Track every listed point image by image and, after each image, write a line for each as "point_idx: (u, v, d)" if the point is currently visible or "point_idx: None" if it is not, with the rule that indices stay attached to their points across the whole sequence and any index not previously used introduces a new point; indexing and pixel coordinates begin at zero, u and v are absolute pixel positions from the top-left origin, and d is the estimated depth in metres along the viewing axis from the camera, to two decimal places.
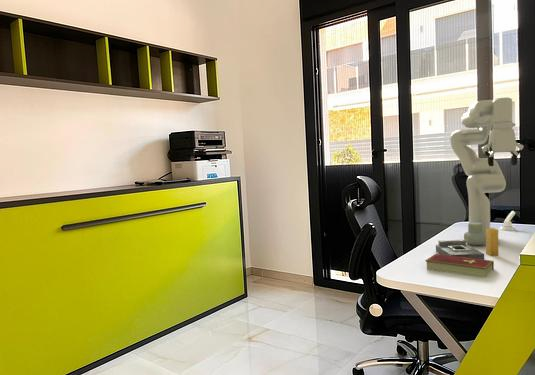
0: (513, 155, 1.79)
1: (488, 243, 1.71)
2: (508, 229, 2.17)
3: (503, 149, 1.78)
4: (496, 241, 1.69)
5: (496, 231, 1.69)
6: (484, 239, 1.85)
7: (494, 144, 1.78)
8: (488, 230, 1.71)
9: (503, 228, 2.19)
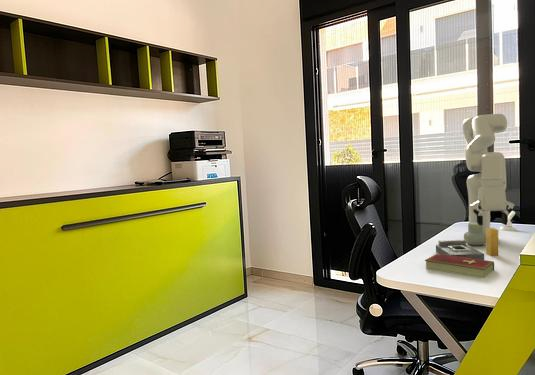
0: (503, 214, 1.70)
1: (488, 243, 1.71)
2: (508, 229, 2.17)
3: (493, 208, 1.68)
4: (496, 241, 1.69)
5: (496, 231, 1.69)
6: (484, 239, 1.85)
7: (483, 202, 1.68)
8: (488, 230, 1.71)
9: (503, 228, 2.19)
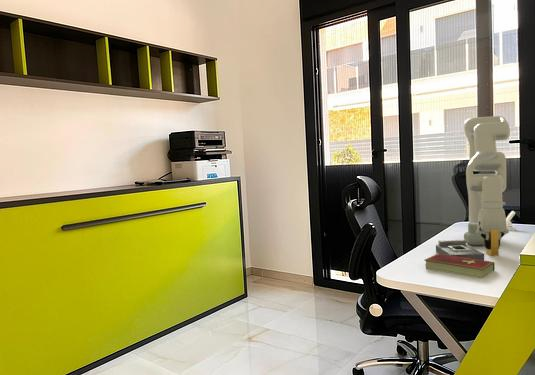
0: None
1: None
2: (508, 229, 2.17)
3: (493, 229, 1.69)
4: (496, 241, 1.69)
5: (496, 231, 1.69)
6: None
7: (483, 224, 1.69)
8: None
9: None
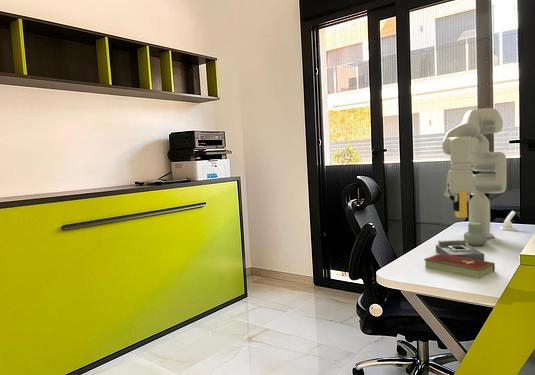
0: None
1: None
2: (508, 229, 2.17)
3: None
4: (464, 203, 1.68)
5: (465, 192, 1.68)
6: (484, 239, 1.85)
7: (452, 186, 1.68)
8: None
9: (503, 228, 2.19)
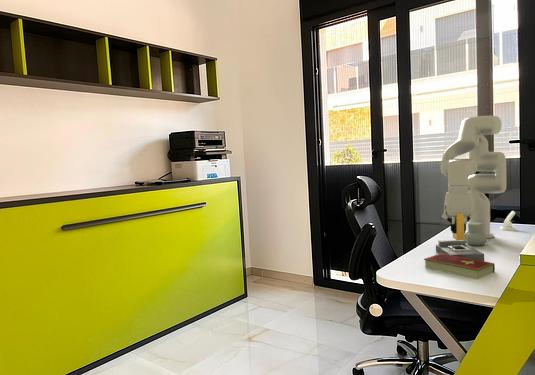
0: None
1: None
2: (508, 229, 2.17)
3: (459, 213, 1.69)
4: (461, 225, 1.69)
5: (462, 215, 1.68)
6: (484, 239, 1.85)
7: (449, 208, 1.69)
8: None
9: (503, 228, 2.19)
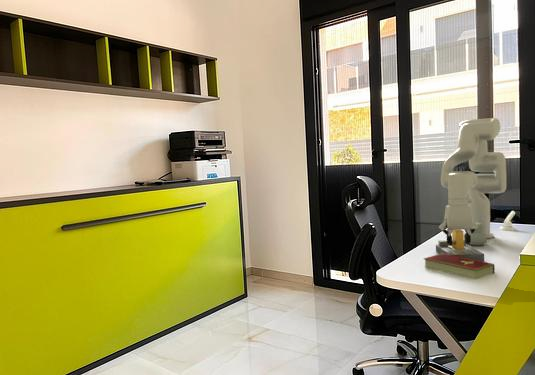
0: (466, 234, 1.71)
1: (454, 244, 1.72)
2: (508, 229, 2.17)
3: (459, 226, 1.69)
4: (461, 243, 1.70)
5: (461, 233, 1.69)
6: (484, 239, 1.85)
7: (449, 221, 1.69)
8: (454, 232, 1.71)
9: (503, 228, 2.19)
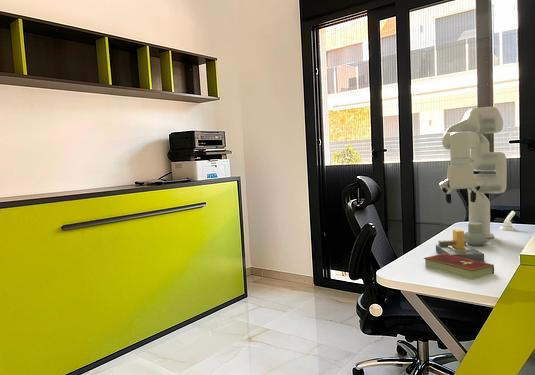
0: (472, 192, 1.71)
1: (455, 244, 1.72)
2: (508, 229, 2.17)
3: (461, 186, 1.69)
4: (461, 243, 1.70)
5: (462, 233, 1.69)
6: (484, 239, 1.85)
7: (451, 181, 1.69)
8: (454, 232, 1.71)
9: (503, 228, 2.19)
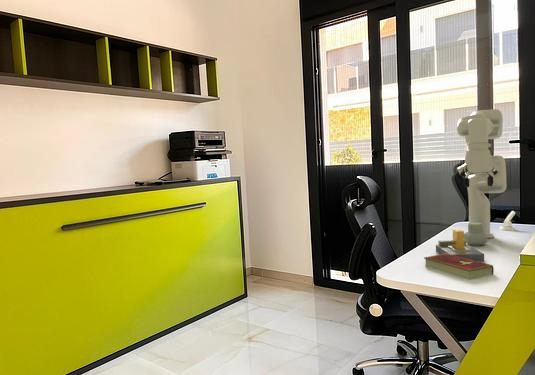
0: (489, 176, 1.77)
1: (455, 244, 1.72)
2: (508, 229, 2.17)
3: (479, 170, 1.75)
4: (461, 243, 1.70)
5: (462, 233, 1.69)
6: (484, 239, 1.85)
7: (470, 165, 1.75)
8: (454, 232, 1.71)
9: (503, 228, 2.19)
